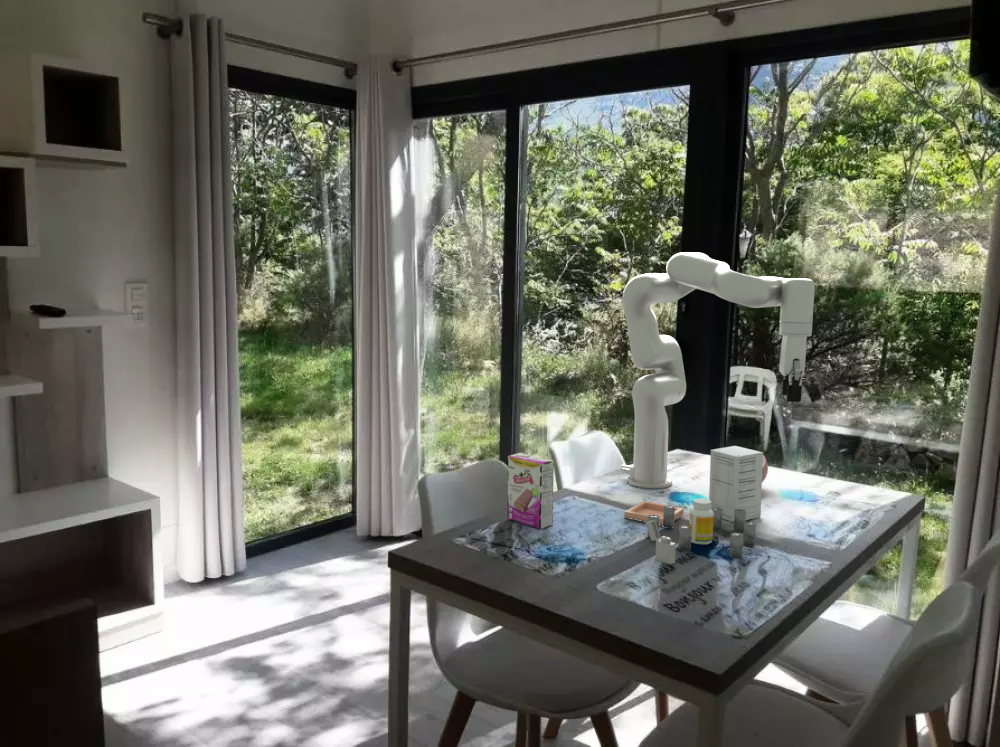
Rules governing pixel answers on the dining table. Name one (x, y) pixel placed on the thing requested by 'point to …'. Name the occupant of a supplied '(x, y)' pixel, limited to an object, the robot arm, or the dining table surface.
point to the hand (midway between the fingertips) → (791, 398)
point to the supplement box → (736, 481)
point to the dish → (650, 511)
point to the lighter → (661, 544)
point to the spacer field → (735, 540)
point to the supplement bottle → (701, 521)
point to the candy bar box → (530, 490)
